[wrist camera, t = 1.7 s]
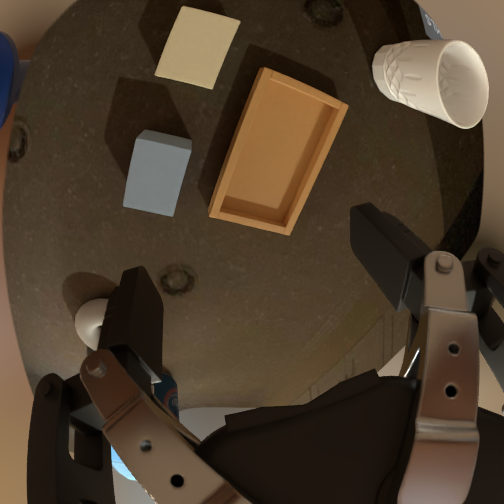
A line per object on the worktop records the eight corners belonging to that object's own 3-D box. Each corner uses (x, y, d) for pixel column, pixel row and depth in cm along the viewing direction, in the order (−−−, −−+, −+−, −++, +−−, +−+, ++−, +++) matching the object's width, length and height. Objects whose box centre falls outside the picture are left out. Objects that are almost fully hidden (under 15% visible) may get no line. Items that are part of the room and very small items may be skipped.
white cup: (393, 26, 19) (463, 24, 11) (430, 79, 23) (497, 95, 15) (352, 66, 22) (421, 72, 13) (395, 119, 25) (461, 146, 17)
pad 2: (160, 76, 20) (154, 75, 16) (184, 16, 17) (182, 5, 13) (209, 88, 21) (212, 89, 18) (233, 29, 18) (240, 20, 15)
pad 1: (131, 188, 25) (122, 206, 22) (144, 129, 22) (136, 137, 19) (175, 198, 26) (172, 216, 23) (192, 139, 24) (191, 150, 20)
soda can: (182, 385, 45) (187, 445, 36) (148, 389, 45) (149, 448, 35) (167, 366, 41) (170, 433, 32) (131, 371, 41) (128, 435, 31)
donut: (107, 347, 37) (160, 332, 37) (104, 366, 34) (159, 352, 34) (64, 304, 31) (119, 282, 31) (57, 323, 28) (113, 303, 28)
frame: (208, 208, 28) (209, 216, 26) (259, 67, 21) (264, 66, 19) (284, 227, 31) (289, 235, 29) (340, 103, 24) (349, 105, 22)
